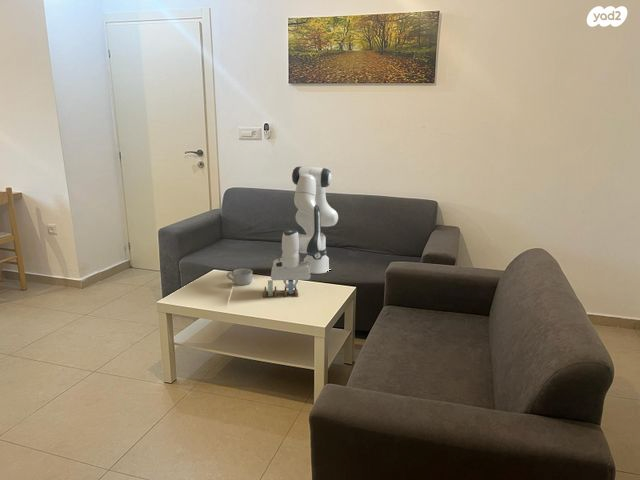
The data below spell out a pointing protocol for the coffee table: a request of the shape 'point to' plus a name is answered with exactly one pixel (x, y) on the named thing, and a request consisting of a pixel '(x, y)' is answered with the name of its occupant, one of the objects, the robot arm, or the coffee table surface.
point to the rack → (280, 293)
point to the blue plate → (290, 286)
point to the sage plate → (270, 287)
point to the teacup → (241, 276)
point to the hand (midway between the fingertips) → (290, 287)
